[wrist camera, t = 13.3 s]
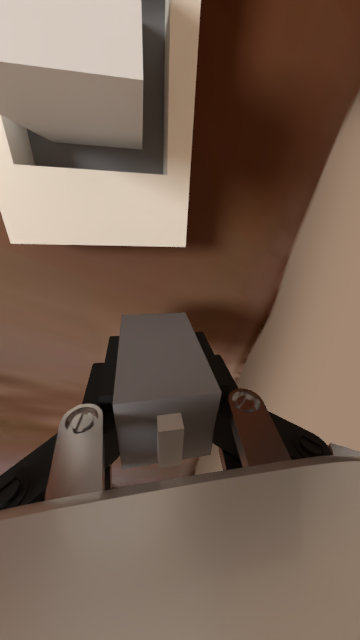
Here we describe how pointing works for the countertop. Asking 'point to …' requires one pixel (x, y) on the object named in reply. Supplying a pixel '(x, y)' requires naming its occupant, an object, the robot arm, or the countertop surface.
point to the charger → (73, 70)
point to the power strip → (114, 157)
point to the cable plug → (162, 392)
